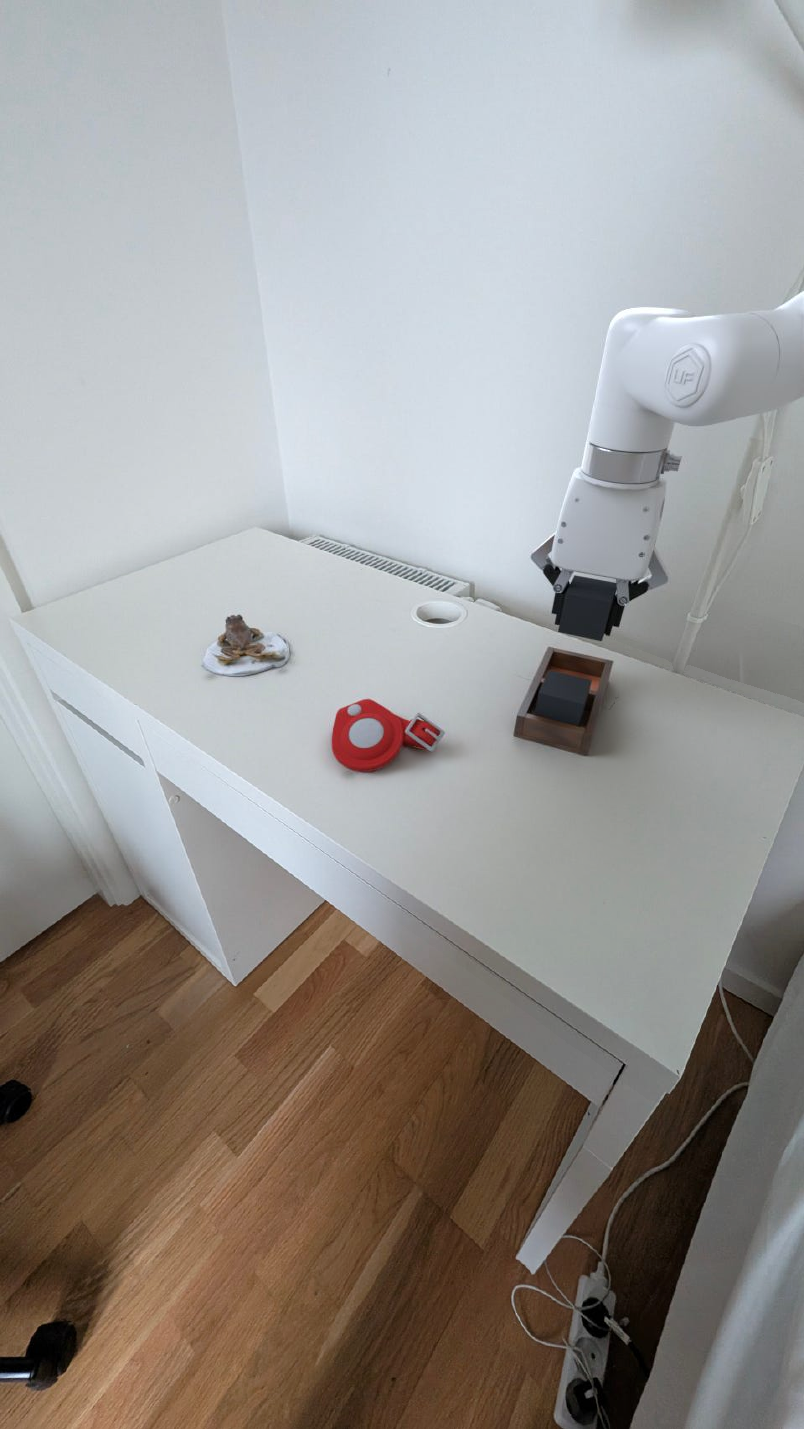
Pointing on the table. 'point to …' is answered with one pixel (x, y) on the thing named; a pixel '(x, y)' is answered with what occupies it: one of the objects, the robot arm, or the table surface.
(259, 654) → the frog figurine
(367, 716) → the tracker holder
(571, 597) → the dark grey block
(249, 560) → the table surface
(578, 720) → the dark grey cube
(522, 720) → the frame
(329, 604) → the table surface
